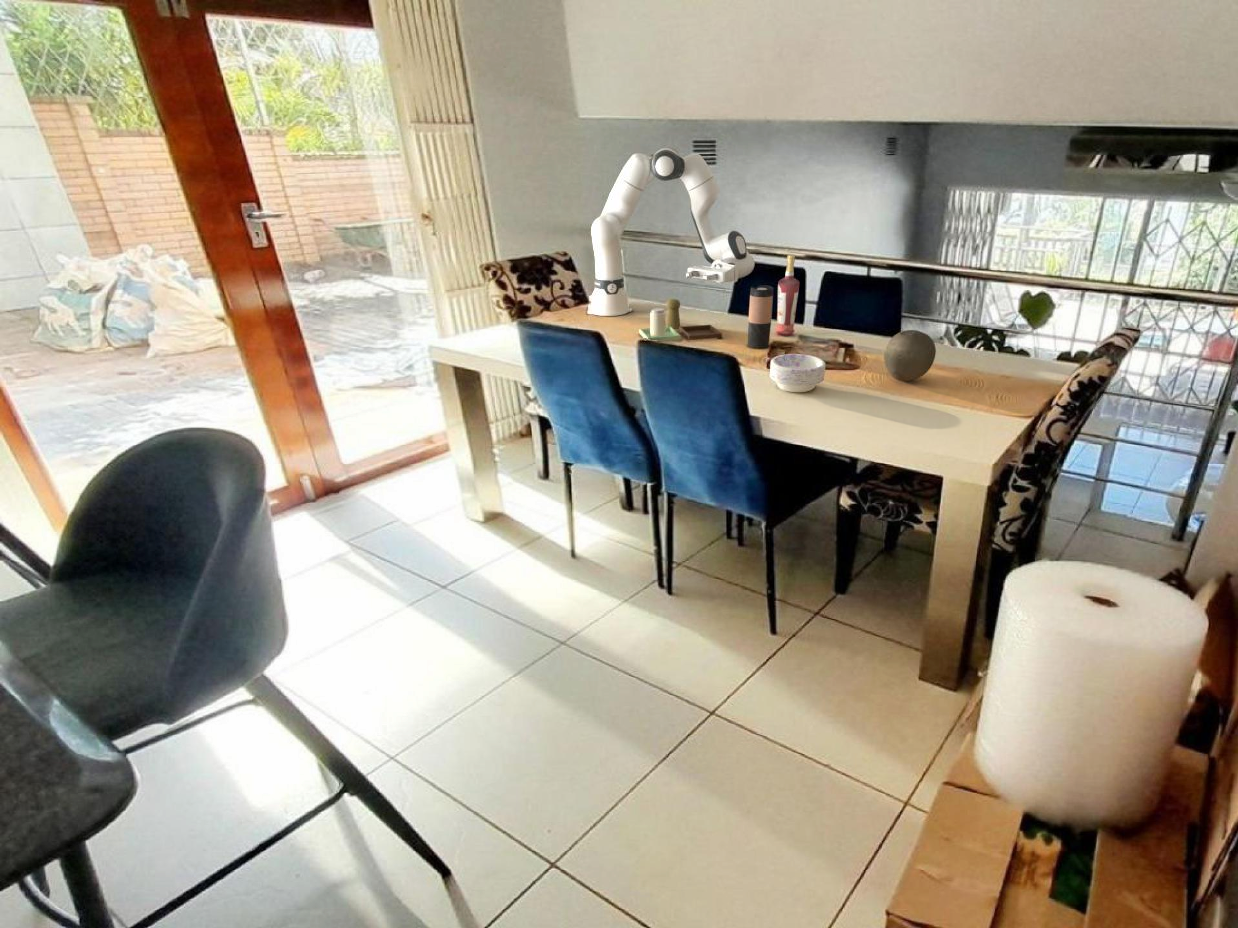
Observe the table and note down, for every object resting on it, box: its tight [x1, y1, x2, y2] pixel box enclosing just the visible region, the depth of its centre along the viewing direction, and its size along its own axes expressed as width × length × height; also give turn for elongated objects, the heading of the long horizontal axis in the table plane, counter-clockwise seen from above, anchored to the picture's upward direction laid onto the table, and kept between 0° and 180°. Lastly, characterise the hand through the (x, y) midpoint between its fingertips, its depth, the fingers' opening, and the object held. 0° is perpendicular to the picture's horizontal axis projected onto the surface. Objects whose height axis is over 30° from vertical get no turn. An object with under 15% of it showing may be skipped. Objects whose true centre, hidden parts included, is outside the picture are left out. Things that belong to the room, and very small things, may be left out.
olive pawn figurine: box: [665, 298, 681, 331], centre depth 265 cm, size 6×6×11 cm
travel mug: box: [747, 285, 774, 350], centre depth 239 cm, size 8×8×20 cm
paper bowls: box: [769, 353, 827, 393], centre depth 201 cm, size 15×15×8 cm
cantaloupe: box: [883, 329, 937, 382], centre depth 203 cm, size 14×14×15 cm
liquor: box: [775, 254, 800, 337], centre depth 250 cm, size 7×7×28 cm
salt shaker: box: [649, 307, 667, 337], centre depth 252 cm, size 6×6×10 cm
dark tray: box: [678, 324, 723, 341], centre depth 257 cm, size 13×12×2 cm
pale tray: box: [638, 327, 682, 342], centre depth 255 cm, size 13×12×2 cm
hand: (696, 277), depth 266 cm, fingers open, 8 cm apart
